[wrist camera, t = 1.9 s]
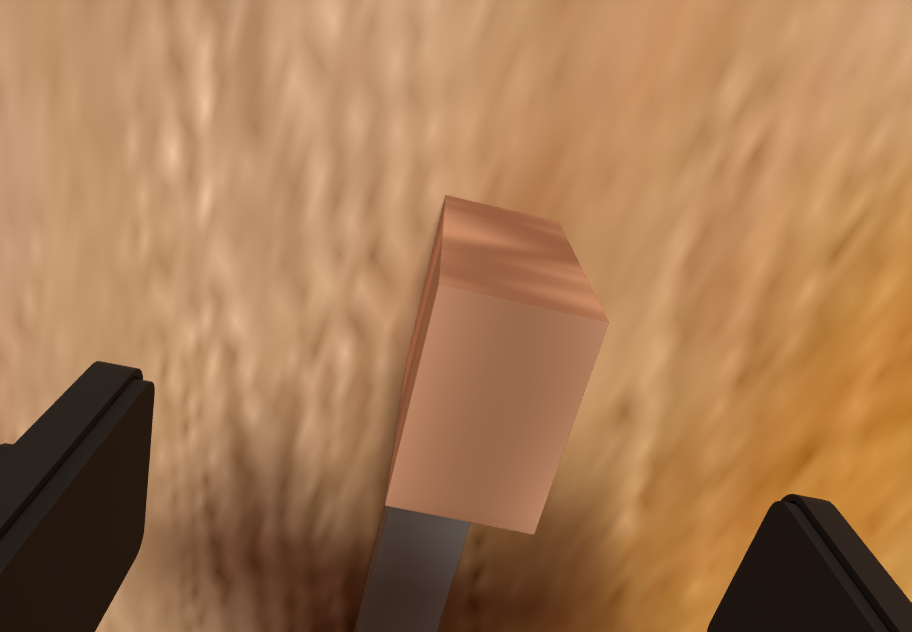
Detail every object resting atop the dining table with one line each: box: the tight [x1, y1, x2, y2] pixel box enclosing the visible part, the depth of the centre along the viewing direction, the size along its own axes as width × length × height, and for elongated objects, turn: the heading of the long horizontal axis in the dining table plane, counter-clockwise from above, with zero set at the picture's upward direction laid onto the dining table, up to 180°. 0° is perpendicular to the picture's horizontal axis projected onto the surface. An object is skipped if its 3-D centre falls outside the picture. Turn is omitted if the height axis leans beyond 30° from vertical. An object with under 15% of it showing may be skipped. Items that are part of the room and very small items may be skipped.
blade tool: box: [354, 195, 609, 632], centre depth 19 cm, size 6×18×7 cm, turn 167°
